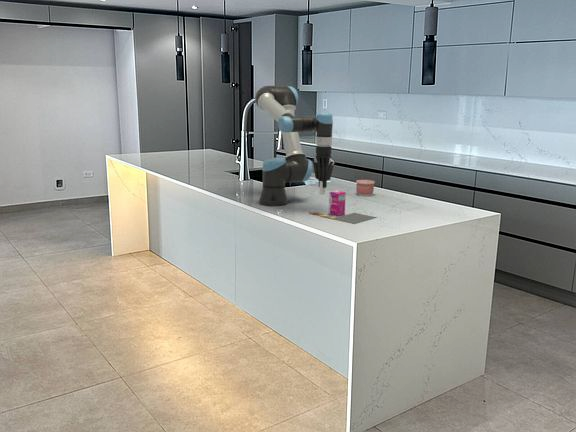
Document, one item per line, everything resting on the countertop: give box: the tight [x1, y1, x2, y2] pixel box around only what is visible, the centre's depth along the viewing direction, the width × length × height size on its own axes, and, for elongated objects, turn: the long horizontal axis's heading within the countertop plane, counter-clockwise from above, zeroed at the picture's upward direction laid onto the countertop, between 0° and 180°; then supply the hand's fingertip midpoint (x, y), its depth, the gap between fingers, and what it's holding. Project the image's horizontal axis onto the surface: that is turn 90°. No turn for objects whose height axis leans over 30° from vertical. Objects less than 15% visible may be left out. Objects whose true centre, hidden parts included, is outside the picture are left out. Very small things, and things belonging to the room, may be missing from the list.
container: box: [355, 179, 376, 197], centre depth 318 cm, size 10×10×8 cm
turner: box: [308, 210, 337, 220], centre depth 264 cm, size 16×3×1 cm, turn 48°
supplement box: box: [328, 190, 347, 217], centre depth 266 cm, size 6×6×12 cm
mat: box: [332, 212, 378, 225], centre depth 261 cm, size 13×18×1 cm
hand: (322, 194), depth 272 cm, fingers closed
